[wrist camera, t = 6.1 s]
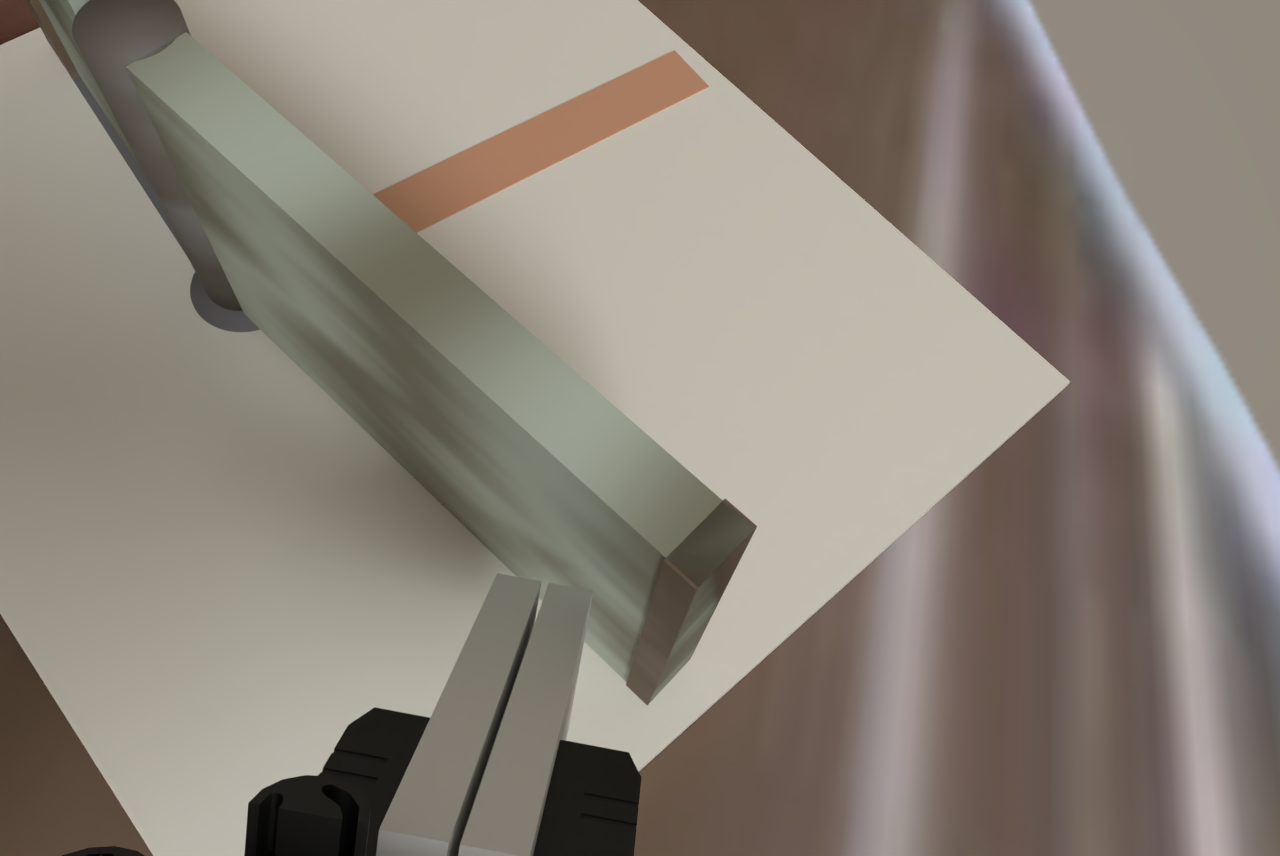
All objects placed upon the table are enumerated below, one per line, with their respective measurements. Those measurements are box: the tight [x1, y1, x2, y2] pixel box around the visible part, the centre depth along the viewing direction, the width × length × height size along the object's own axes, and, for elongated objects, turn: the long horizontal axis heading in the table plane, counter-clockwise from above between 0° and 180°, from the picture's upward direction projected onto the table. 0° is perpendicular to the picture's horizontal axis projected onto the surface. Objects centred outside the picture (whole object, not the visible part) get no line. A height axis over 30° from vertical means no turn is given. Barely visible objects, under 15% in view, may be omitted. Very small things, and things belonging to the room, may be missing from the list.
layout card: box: [0, 0, 1070, 856], centre depth 25 cm, size 25×22×1 cm
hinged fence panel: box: [72, 0, 757, 706], centre depth 19 cm, size 15×2×8 cm, turn 47°
